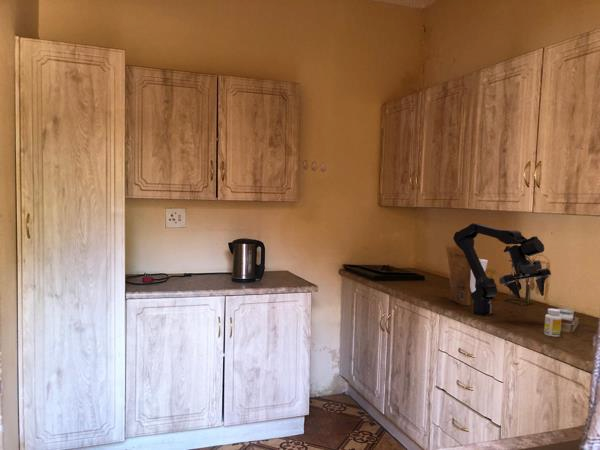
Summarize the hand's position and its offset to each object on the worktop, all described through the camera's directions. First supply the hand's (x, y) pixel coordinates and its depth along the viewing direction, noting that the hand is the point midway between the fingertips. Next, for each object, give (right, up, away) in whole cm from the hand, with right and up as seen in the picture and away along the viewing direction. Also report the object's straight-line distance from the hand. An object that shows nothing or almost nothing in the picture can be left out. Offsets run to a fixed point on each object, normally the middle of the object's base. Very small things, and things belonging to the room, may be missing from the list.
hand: (531, 297), depth 180 cm
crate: (+13, -12, +1) cm, 18 cm away
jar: (+16, -12, +4) cm, 20 cm away
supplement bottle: (+3, -13, -10) cm, 16 cm away
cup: (+6, -9, +72) cm, 72 cm away
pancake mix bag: (-14, -9, +43) cm, 46 cm away
